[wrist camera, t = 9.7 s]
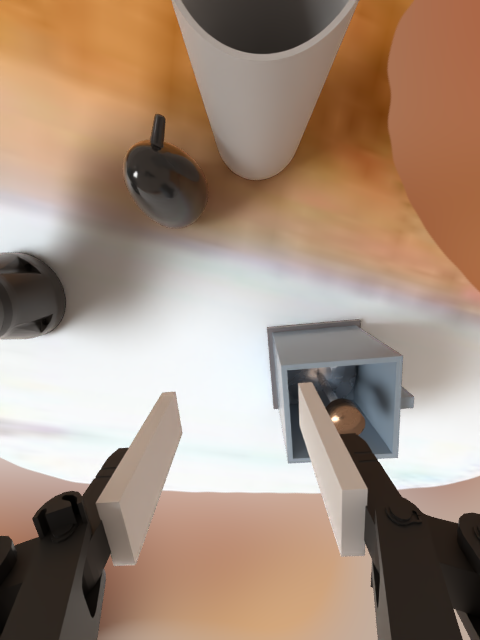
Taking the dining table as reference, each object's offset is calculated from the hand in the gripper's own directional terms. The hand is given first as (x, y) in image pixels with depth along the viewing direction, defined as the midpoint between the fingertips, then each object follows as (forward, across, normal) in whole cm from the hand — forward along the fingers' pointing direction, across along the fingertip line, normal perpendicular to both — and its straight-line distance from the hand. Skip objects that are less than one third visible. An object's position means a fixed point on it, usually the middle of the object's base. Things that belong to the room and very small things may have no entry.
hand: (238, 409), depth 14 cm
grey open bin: (+31, +12, -12) cm, 35 cm away
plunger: (+27, +12, -12) cm, 32 cm away
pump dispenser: (+32, -8, +18) cm, 38 cm away
